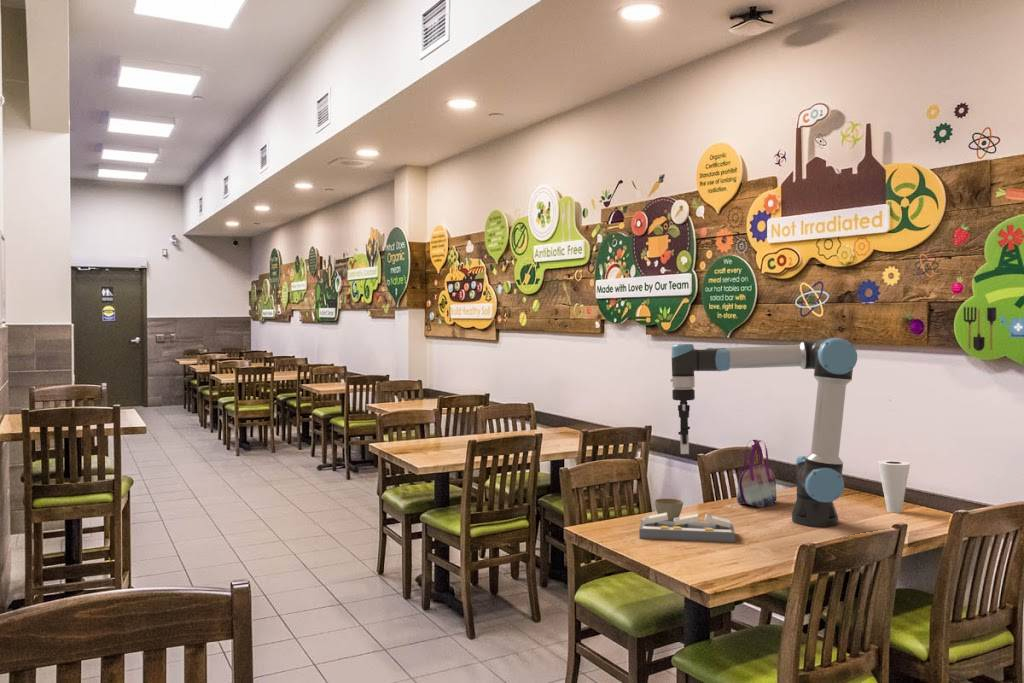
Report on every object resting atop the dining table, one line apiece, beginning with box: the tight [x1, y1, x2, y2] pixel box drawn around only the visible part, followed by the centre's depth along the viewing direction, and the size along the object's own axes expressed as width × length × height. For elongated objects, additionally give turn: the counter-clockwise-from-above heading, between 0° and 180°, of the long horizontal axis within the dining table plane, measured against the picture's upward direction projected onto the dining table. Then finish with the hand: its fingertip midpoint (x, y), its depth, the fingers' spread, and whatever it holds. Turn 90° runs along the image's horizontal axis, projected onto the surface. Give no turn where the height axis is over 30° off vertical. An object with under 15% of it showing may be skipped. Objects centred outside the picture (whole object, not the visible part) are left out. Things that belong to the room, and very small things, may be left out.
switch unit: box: [638, 519, 736, 543], centre depth 246 cm, size 30×12×4 cm, turn 77°
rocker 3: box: [704, 513, 732, 528], centre depth 245 cm, size 8×4×2 cm, turn 77°
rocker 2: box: [674, 513, 700, 526], centre depth 247 cm, size 8×4×2 cm, turn 77°
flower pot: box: [653, 497, 684, 522], centre depth 266 cm, size 10×10×7 cm
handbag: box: [736, 439, 777, 508], centre depth 291 cm, size 21×10×25 cm, turn 125°
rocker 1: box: [642, 513, 668, 524], centre depth 250 cm, size 8×4×2 cm, turn 77°
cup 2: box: [877, 459, 911, 514], centre depth 276 cm, size 11×11×18 cm
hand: (684, 451), depth 258 cm, fingers open, 12 cm apart
